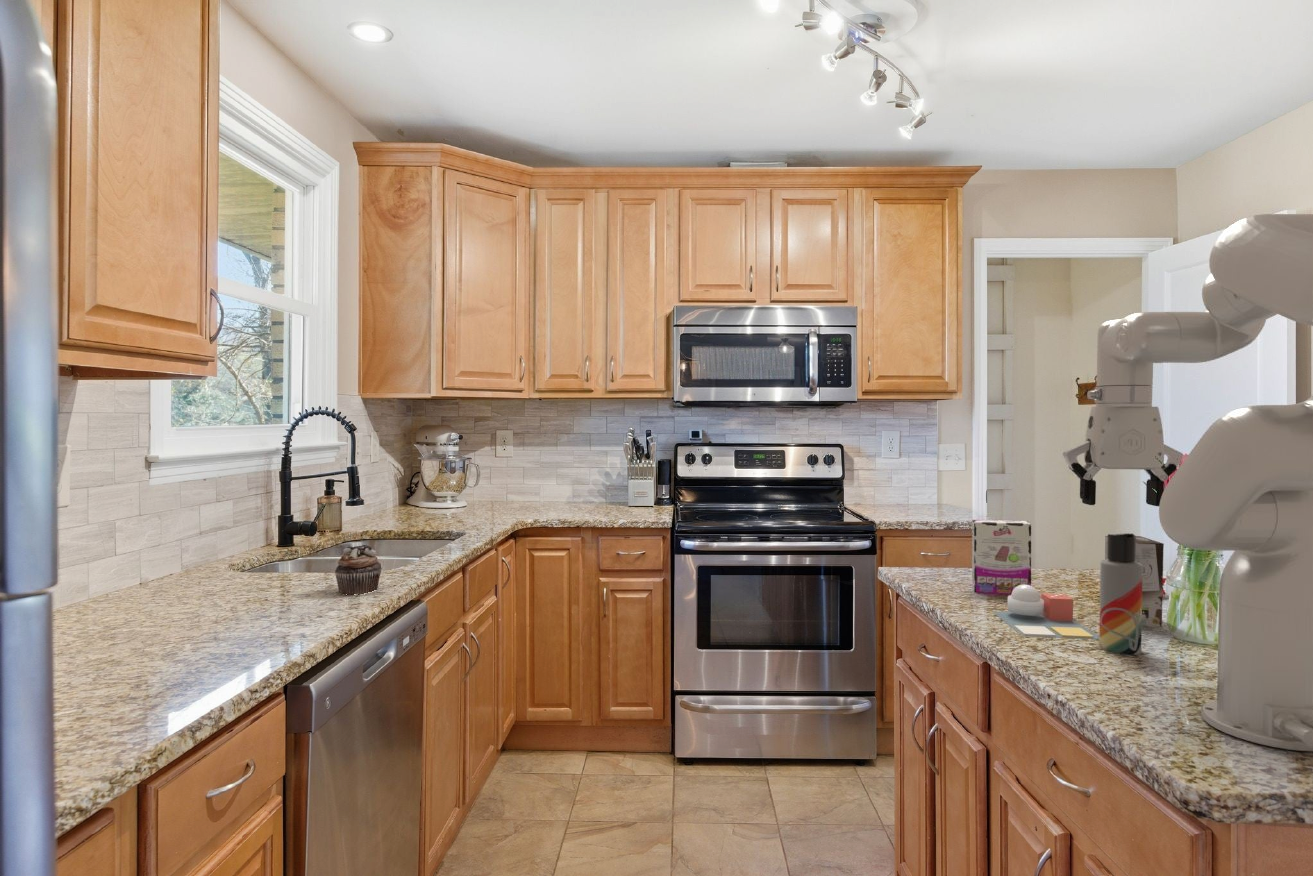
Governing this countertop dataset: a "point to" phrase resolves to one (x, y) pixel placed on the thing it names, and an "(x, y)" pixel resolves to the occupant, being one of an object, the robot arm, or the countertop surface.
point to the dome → (1025, 601)
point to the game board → (1045, 618)
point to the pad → (1071, 632)
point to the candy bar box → (1000, 555)
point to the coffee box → (1149, 578)
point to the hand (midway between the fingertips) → (1120, 504)
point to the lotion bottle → (1121, 597)
